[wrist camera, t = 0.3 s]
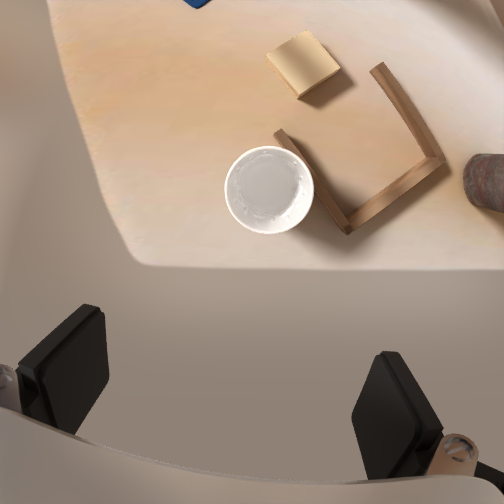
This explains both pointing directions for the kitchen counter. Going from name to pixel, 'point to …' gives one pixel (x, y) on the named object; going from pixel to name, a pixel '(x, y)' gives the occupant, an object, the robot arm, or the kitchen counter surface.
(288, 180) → the white cup
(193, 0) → the cell phone
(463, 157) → the kitchen counter surface
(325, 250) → the kitchen counter surface
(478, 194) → the candle
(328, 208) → the corral
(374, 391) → the robot arm
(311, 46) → the tan square block
